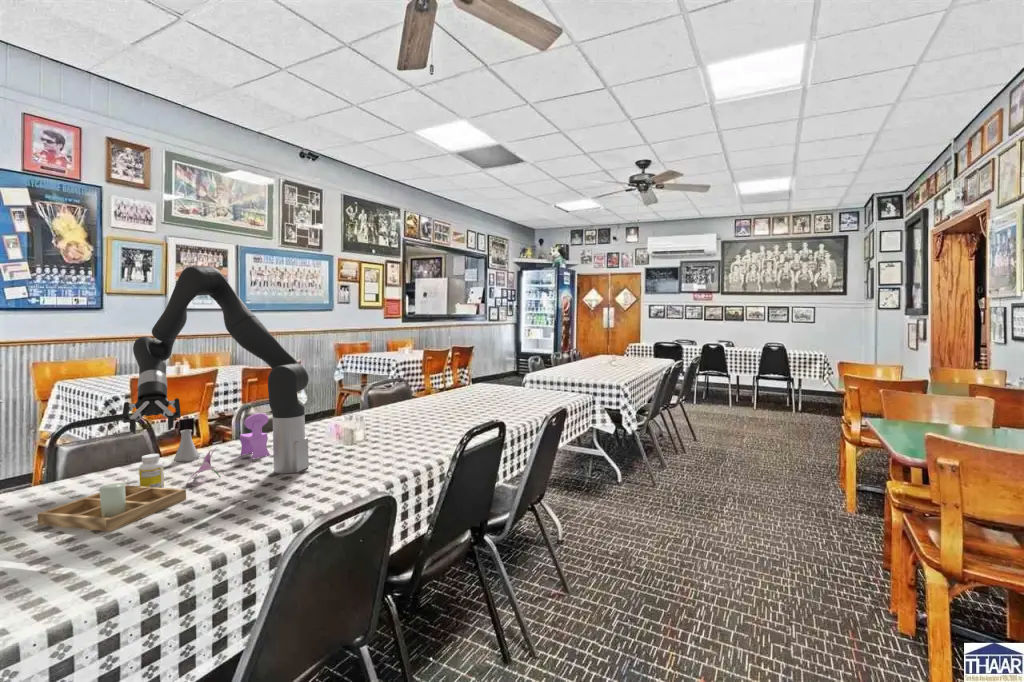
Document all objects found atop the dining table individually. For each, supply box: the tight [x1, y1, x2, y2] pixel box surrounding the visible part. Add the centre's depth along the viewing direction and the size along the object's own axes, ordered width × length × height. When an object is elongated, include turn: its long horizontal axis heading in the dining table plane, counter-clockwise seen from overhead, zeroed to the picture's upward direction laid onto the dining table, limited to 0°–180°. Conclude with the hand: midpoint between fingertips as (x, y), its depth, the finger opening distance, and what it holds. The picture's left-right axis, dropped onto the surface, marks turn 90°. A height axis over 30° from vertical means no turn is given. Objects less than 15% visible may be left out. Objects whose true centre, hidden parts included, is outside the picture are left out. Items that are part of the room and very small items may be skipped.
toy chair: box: [239, 412, 271, 460], centre depth 173 cm, size 8×9×15 cm
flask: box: [173, 429, 201, 462], centre depth 168 cm, size 7×7×10 cm
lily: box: [185, 446, 221, 485], centre depth 147 cm, size 12×12×10 cm
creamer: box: [99, 482, 126, 518], centre depth 115 cm, size 5×5×8 cm
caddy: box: [37, 484, 187, 532], centre depth 121 cm, size 20×20×3 cm
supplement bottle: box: [138, 453, 165, 488], centre depth 138 cm, size 5×5×10 cm
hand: (152, 430), depth 147 cm, fingers open, 8 cm apart
